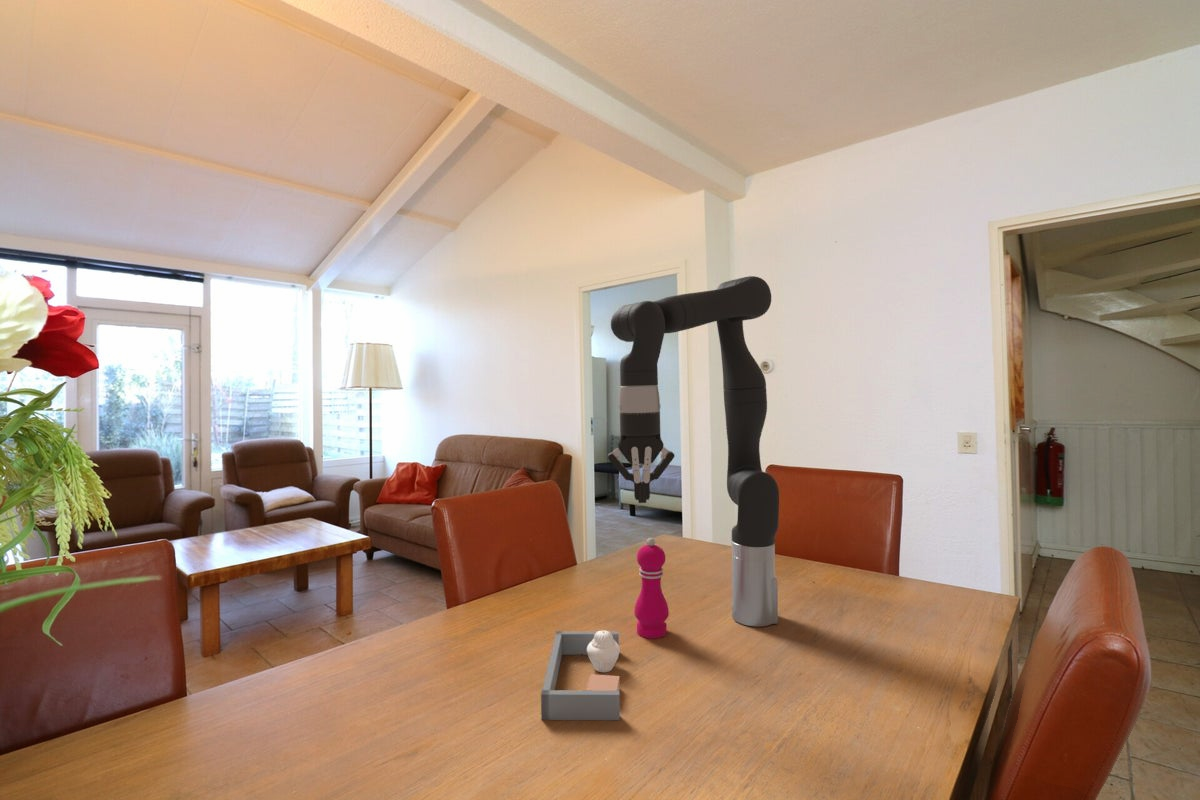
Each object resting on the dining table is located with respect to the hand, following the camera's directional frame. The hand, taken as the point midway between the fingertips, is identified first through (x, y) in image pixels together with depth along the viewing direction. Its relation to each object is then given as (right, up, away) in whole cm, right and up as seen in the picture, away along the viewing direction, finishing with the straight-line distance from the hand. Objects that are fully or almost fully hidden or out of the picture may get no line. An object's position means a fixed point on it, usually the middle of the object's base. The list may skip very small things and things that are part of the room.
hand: (642, 502), depth 105 cm
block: (-7, -31, -11) cm, 34 cm away
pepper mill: (+3, -30, +13) cm, 33 cm away
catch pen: (-11, -30, -7) cm, 33 cm away
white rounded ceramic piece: (-7, -30, -2) cm, 31 cm away
